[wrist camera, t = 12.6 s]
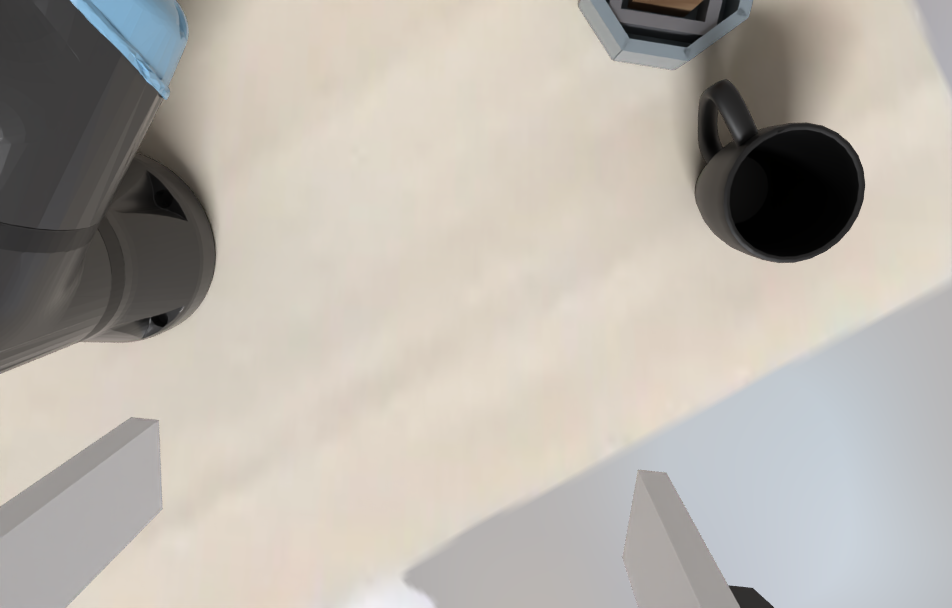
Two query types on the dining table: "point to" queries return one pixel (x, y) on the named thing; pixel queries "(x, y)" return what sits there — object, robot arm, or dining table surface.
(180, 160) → the dining table surface
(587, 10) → the octagonal peg hole ring
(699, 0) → the wooden post
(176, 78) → the dining table surface
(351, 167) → the dining table surface
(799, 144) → the mug
